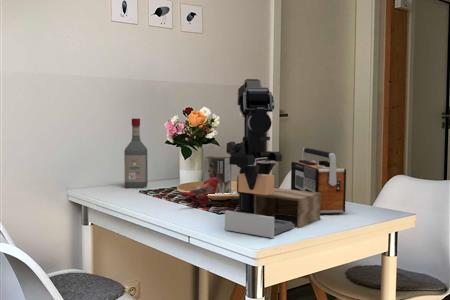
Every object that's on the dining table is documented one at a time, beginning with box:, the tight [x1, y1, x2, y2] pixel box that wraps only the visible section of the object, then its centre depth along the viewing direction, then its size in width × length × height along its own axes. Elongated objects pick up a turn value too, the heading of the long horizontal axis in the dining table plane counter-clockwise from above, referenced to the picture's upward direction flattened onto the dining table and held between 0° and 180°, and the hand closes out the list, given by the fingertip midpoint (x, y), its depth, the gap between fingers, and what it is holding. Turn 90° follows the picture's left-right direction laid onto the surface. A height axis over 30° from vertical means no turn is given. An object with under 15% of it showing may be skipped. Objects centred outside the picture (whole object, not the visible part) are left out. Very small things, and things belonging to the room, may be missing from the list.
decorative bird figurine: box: [177, 177, 219, 207], centre depth 168 cm, size 3×18×10 cm, turn 129°
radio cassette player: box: [290, 147, 347, 215], centre depth 169 cm, size 29×10×20 cm, turn 9°
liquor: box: [123, 118, 149, 189], centre depth 213 cm, size 9×9×30 cm
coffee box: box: [202, 155, 232, 194], centre depth 183 cm, size 9×6×16 cm
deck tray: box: [224, 209, 295, 239], centre depth 136 cm, size 14×15×5 cm
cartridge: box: [237, 173, 275, 195], centre depth 137 cm, size 9×4×5 cm, turn 54°
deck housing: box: [254, 187, 321, 229], centre depth 148 cm, size 14×15×8 cm
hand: (256, 188), depth 137 cm, fingers closed on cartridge, 4 cm apart
